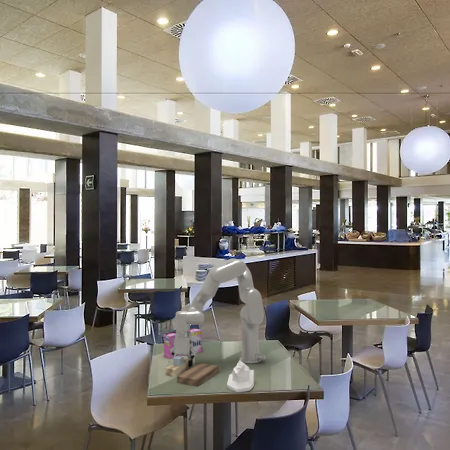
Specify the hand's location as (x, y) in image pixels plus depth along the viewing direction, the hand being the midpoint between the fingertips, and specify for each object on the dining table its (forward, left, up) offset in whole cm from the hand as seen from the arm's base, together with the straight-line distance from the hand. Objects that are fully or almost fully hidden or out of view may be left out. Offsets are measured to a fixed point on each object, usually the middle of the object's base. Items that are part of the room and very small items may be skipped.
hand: (183, 365), depth 228 cm
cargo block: (0, +5, +2) cm, 5 cm away
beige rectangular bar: (0, +3, -2) cm, 4 cm away
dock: (-14, +7, -2) cm, 16 cm away
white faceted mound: (-40, +10, -2) cm, 41 cm away
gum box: (+14, -22, -2) cm, 26 cm away
